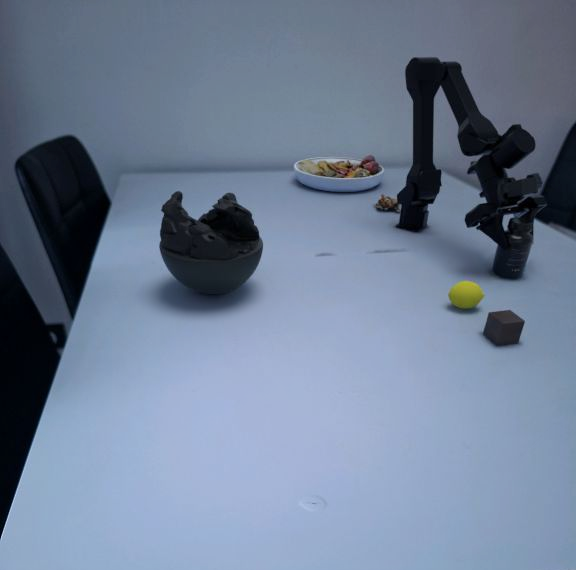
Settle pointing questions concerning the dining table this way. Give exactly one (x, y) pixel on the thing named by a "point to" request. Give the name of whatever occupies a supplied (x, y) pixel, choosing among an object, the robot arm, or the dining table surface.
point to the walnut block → (503, 327)
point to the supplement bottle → (514, 249)
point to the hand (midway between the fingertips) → (519, 247)
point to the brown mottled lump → (387, 203)
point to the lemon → (465, 294)
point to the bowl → (339, 173)
